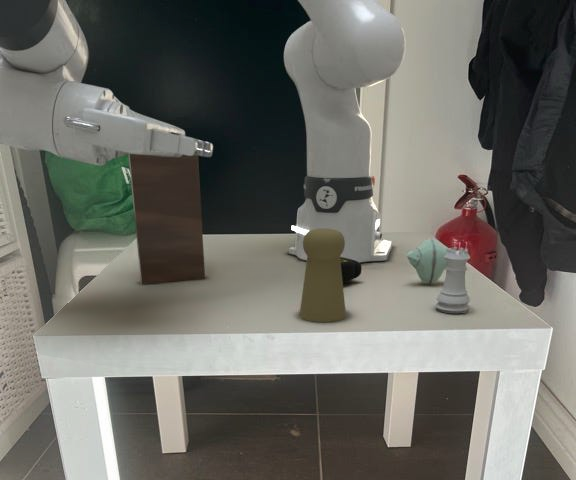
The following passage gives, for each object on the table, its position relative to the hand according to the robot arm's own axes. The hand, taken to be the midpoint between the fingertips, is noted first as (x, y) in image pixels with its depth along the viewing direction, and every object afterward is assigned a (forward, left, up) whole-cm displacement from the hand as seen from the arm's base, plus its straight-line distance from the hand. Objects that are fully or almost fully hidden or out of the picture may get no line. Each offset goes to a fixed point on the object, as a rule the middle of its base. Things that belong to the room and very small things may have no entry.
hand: (204, 149), depth 77 cm
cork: (-4, +14, -21) cm, 25 cm away
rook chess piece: (-13, +29, -21) cm, 38 cm away
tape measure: (-22, +9, -21) cm, 32 cm away
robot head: (-26, +23, -21) cm, 40 cm away
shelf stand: (-17, -18, -20) cm, 32 cm away
